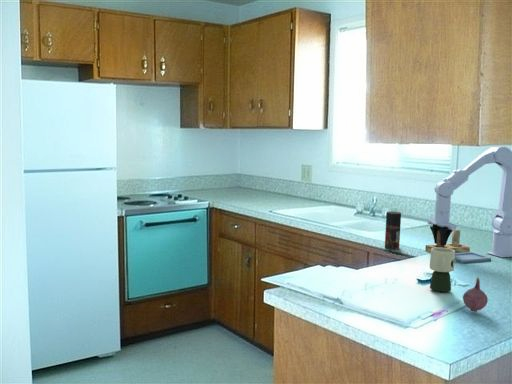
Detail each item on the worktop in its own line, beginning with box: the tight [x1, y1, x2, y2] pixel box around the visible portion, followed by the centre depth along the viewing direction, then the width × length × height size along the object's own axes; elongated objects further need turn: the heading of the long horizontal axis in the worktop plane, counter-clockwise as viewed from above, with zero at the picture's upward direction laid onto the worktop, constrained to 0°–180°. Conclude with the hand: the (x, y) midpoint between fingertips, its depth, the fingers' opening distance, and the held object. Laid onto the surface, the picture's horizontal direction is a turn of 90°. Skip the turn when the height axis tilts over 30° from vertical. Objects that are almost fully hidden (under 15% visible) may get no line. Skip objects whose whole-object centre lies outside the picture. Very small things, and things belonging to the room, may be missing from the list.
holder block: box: [424, 242, 471, 254], centre depth 220 cm, size 16×8×2 cm, turn 113°
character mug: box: [429, 247, 456, 293], centre depth 165 cm, size 11×7×13 cm, turn 167°
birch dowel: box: [451, 228, 461, 247], centre depth 221 cm, size 3×3×9 cm
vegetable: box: [462, 276, 488, 313], centre depth 146 cm, size 6×6×10 cm
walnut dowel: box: [436, 230, 444, 248], centre depth 218 cm, size 3×3×9 cm
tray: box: [455, 251, 492, 264], centre depth 209 cm, size 14×10×1 cm
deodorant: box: [384, 211, 402, 250], centre depth 224 cm, size 6×6×15 cm
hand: (440, 244), depth 218 cm, fingers closed on walnut dowel, 3 cm apart
